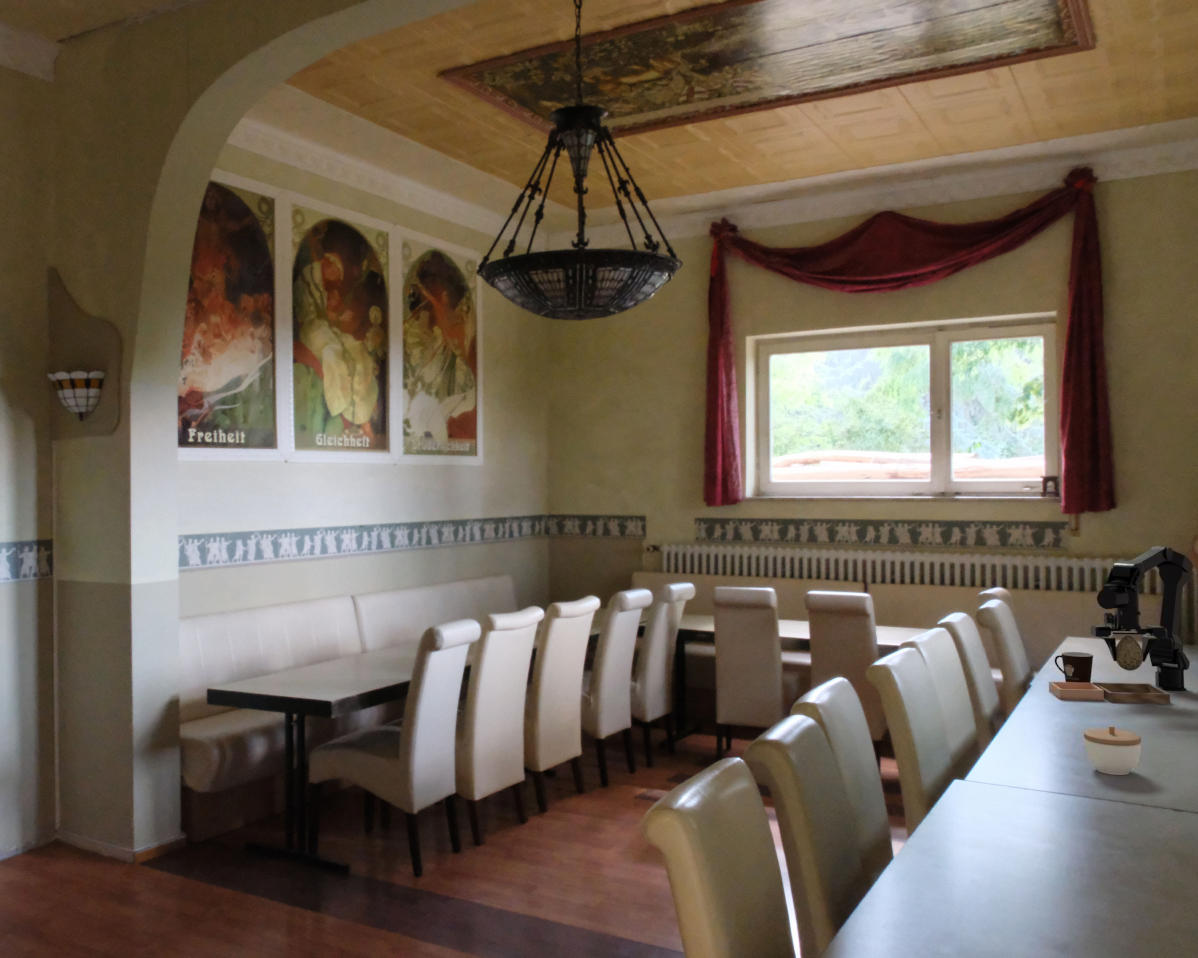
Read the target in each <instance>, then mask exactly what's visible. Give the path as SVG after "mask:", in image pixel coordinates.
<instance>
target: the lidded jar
mask: <svg viewBox="0 0 1198 958" xmlns="http://www.w3.org/2000/svg"><path fill="white" fill-rule="evenodd" d="M1083 738H1084V749H1085V754H1086V757H1087V759H1088V760H1089V761H1090V763H1091V764H1092V765H1093V766H1094V768H1095V769H1096V770H1097V772H1100V773H1102V774H1106V775H1111V776H1112V775H1113V776H1126V775H1129V774H1130V772H1131V771H1132V770H1133V769H1135V768H1136V766H1137V765H1138V763H1139V760H1140V758H1141V749H1142V748H1141V747H1142V746H1141V743H1142V737H1141V735H1140V734H1137V733H1135V732H1133V731H1132V732H1131V731H1127V730H1123V729H1117V728H1116V729H1115V726H1112V725H1109V726H1108V728H1090V729H1086V730H1084V732H1083Z"/></svg>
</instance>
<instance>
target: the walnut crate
mask: <svg viewBox="0 0 1198 958" xmlns="http://www.w3.org/2000/svg"><path fill="white" fill-rule="evenodd" d="M1091 683H1093V684H1094V685H1096V686H1097V687H1099V688H1101V689H1102V690H1104V700H1106V701H1108V702H1109V703H1140V704H1142V703H1143V704H1145V703H1146V704H1171V694H1170V693H1169V692H1167V691H1166V690H1163V689H1161V688H1159V687H1157V686H1155V685H1154V684H1152V683H1148V682H1147V683H1143V682H1139V683H1138V682H1100V681H1099V682H1097V681H1095V682H1091Z"/></svg>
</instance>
